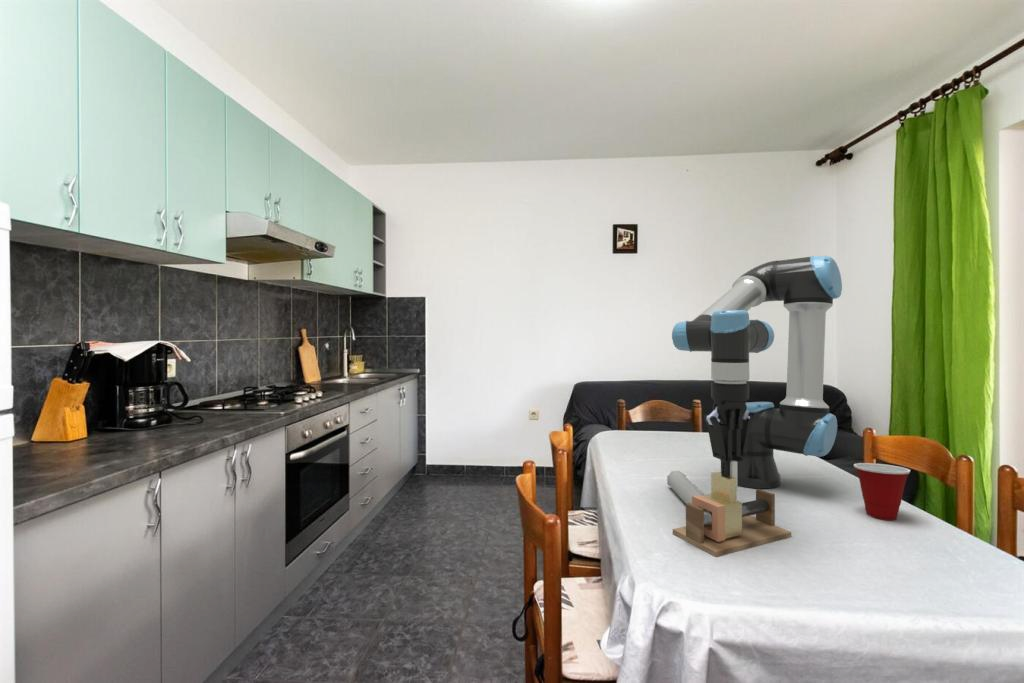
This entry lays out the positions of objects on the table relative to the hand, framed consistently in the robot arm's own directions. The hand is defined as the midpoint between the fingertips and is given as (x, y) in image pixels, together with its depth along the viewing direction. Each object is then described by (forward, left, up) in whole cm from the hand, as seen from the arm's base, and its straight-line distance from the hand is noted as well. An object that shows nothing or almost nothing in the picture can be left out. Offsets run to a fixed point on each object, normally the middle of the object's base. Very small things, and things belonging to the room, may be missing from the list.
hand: (729, 489), depth 104 cm
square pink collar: (+6, 0, -9) cm, 11 cm away
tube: (-7, -19, -11) cm, 22 cm away
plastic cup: (-42, +7, -10) cm, 43 cm away
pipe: (-1, 0, -7) cm, 7 cm away
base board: (-1, 0, -10) cm, 10 cm away
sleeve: (+3, 0, -8) cm, 9 cm away
